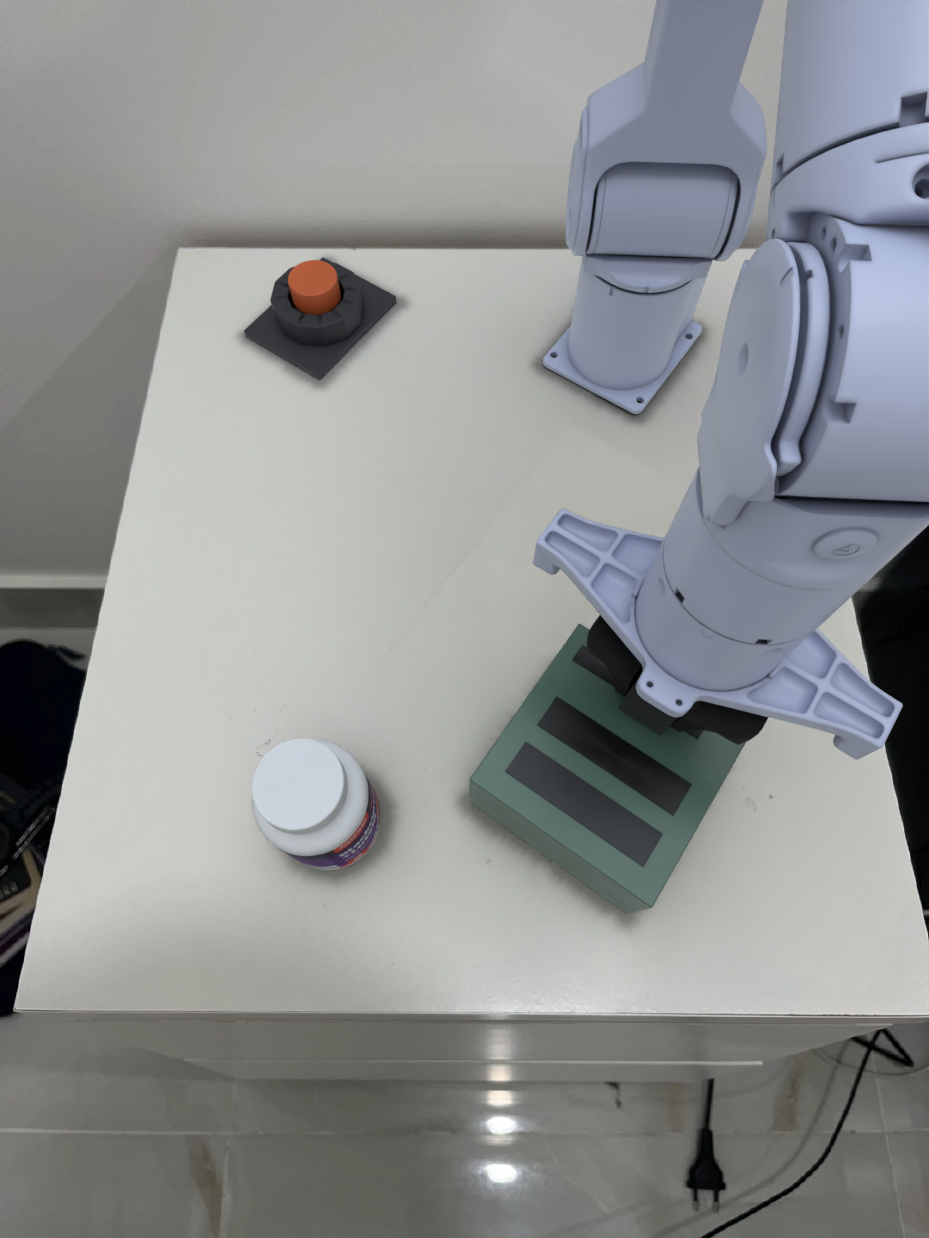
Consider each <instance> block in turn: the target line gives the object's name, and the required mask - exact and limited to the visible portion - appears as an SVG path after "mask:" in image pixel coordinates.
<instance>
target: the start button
mask: <svg viewBox="0 0 929 1238" xmlns="http://www.w3.org/2000/svg"><path fill="white" fill-rule="evenodd" d="M293 267H294V266H293ZM288 284H289V288H290V291H291V295H292V299H293V302H294V305H295V306H296V308H297V309H298V310H300V311H301V312H303V313H306V314H314V315H321V314H323V313H326V312H329V311H331V310H333V309H334V308H335V307H336V306H337V305H338V303H339V301H340V298H341V293H340V288H339V282H338V277H337V273H336V270H335V269H334V268H333V267H332V266H331V265H330V264H328V263H326V262H324V261H320V259H311V260H305V261H302V262H300V263H297V264H296V265H295V267H294V268H293V269H292V270H291V272H290V273H289V276H288Z"/></svg>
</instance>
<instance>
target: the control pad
mask: <svg viewBox="0 0 929 1238" xmlns="http://www.w3.org/2000/svg"><path fill="white" fill-rule="evenodd" d="M319 260H320V261H324V262H326V263H328V264H330V265H331V266H332V267H333V268H334V269H335V270H336V273H337V277H338V282H339V288H340V293H341V298H340V301H339V303H338V305H337V306H336V307H335V308H334V309H333V310H331V311H329V312H326V313H323V314H321V315H314V314H306V313H303V312H301V311H300V310H298V309H297V308H296V306H295V305H294V302H293V299H292V295H291V291H290V288H289V284H288V276H289V273H290V272H291V270H292V269H293V268H294V267H295V266H296V265H295V266H291V267H289V268H288V269H287V270H286V271H284V272H283V274H282V275H280V276H279V277H278V278H277V279H276V280H275V281H274V284H273V287H272V292H271V295H270V299H269V301H270V306H268V307H267V308H266V309H265V310H264V311H263V312H262V313H261V314H260V315H259V316H258V317H257V318H255V319H254V320H253V321H252V322H251V323H250V324H249V325H248V326H246V328H245V329H244V330H243V332H244V335H245V338H247V339H248V340H250V341H252V342H253V343H255V344H257V345H259V346H260V347H262V348H264V349H265V350H267V351H268V352H270V353H272V354H274V355H276V356H277V357H280V358H281V359H282V360H283V361H286V362H287V363H289V364H290V365H292V366H295V367H296V368H297V369H300V370H301V371H303V372H304V373H306V374H308V375H309V376H311V377H313V378H315V379H316V380H318V381H321V380H322V379H323V378H324V377H325V376H326V375H327V374H328V373H329V372H330V371H331V370H332V369H333V368H334V367H335V366H336V365H337V364H338V362H340V360H341V359H343V357H345V356H346V355H347V353H349V352H350V350H352V349H353V348H354V346H356V344H357V343H358V342H360V340H361V339H362V338H363V337H365V336H366V334H368V332H369V331H370V330H371V329H372V328H373V327H374V326H375V325H376V324H377V323H378V322H379V321H380V320H381V319H382V318H383V317H385V315H386V314H387V313H388V312H389V311H390V310H391V309H392V308H393V307H394V306H395V305H396V304H397V296H396V295H395V294H392V293H391V292H389V291H387V290H386V289H383V288H382V287H380V286H378V285H376V284H374V283H372V282H371V281H368V280H366V279H365V278H363V277H361V276H359V275H357V274H355V272H354V271H352V270H351V269H348V268H346V267H344V266H342V265H341V264H339V263H337V262H334V261H331V260H330V259H327V258H326V257H321V258H320V259H319Z"/></svg>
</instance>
